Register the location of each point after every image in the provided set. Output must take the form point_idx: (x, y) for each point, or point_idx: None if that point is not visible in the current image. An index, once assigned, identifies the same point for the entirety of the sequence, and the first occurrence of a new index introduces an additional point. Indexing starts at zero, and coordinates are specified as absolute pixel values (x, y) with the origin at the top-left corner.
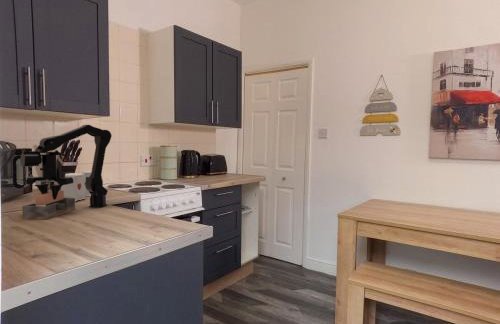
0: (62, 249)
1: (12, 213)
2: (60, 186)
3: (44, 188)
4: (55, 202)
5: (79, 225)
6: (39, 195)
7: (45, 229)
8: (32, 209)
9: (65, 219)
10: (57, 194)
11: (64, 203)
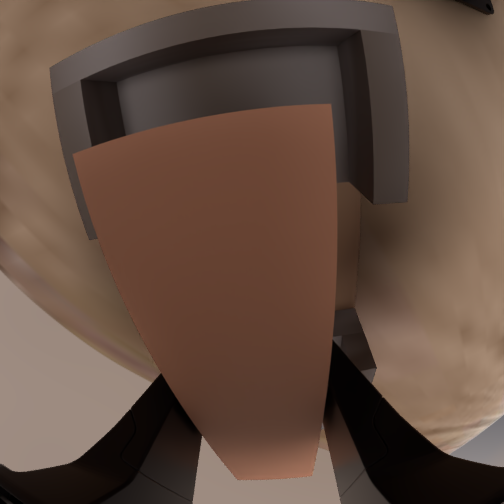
0: (460, 431)
1: (34, 284)
2: (449, 474)
3: (172, 493)
4: (114, 81)
5: (484, 363)
6: (259, 475)
7: (403, 415)
8: None
9: (431, 333)
10: (358, 370)
11: (250, 64)
